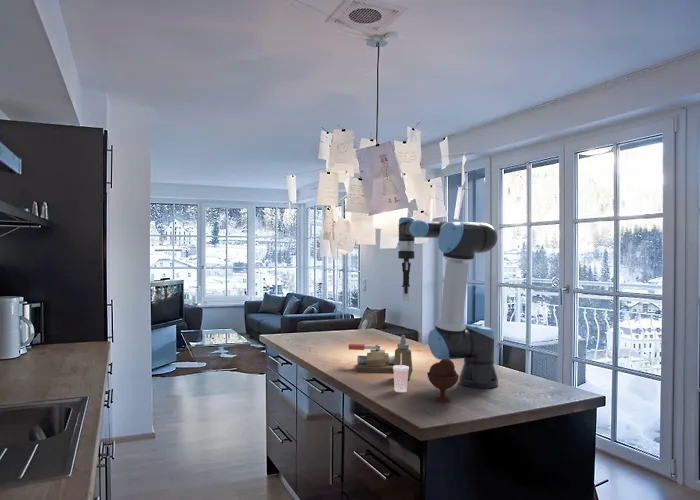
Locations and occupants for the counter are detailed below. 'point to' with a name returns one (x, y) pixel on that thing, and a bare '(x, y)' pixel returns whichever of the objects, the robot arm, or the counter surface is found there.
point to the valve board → (374, 368)
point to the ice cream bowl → (443, 378)
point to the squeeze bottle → (403, 355)
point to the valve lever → (363, 347)
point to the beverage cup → (400, 377)
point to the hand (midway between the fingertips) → (405, 300)
